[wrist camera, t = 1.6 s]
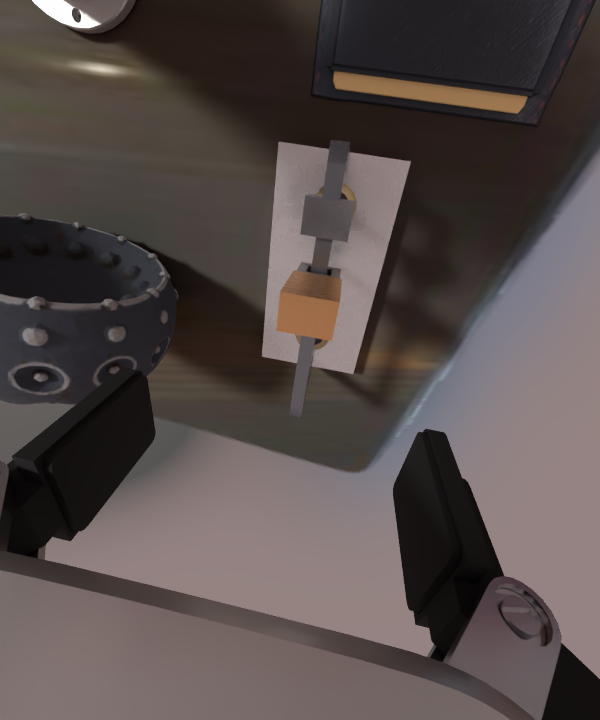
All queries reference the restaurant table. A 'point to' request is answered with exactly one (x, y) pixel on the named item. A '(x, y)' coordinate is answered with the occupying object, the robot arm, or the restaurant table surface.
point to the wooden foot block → (310, 303)
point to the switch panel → (329, 246)
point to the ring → (76, 309)
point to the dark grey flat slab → (447, 54)
